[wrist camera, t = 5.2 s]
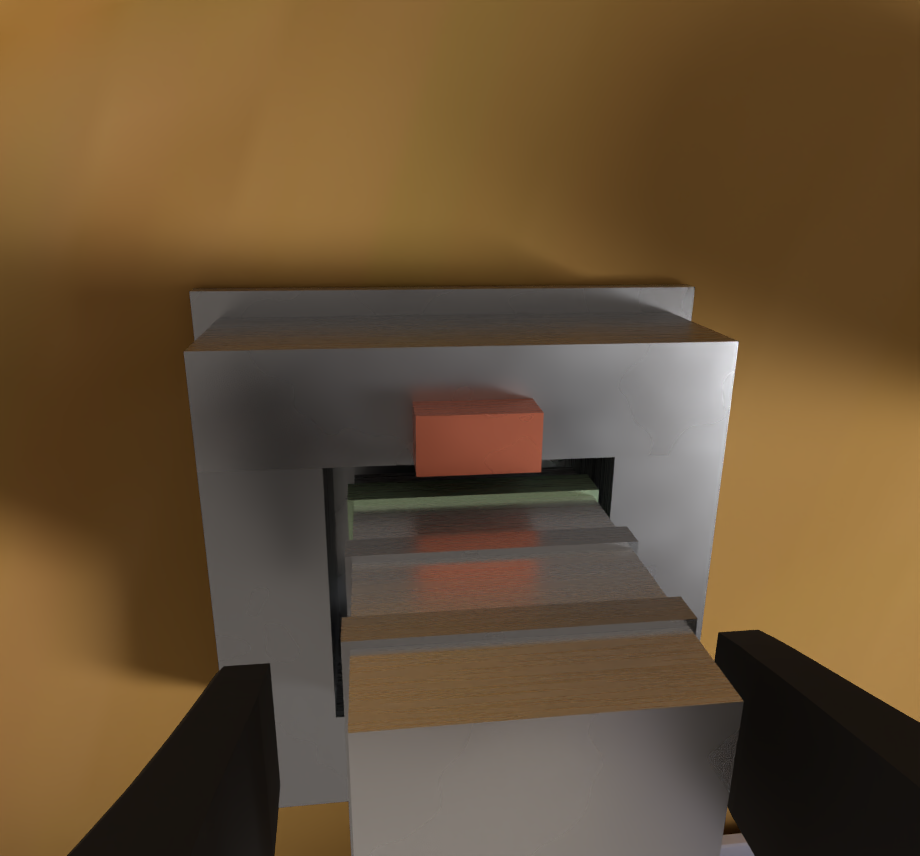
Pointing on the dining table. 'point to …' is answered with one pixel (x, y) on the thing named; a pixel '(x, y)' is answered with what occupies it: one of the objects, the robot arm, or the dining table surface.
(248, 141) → the dining table surface
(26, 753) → the dining table surface
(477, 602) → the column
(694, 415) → the stand base
